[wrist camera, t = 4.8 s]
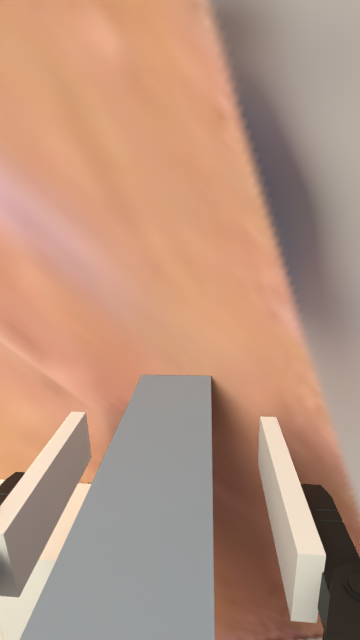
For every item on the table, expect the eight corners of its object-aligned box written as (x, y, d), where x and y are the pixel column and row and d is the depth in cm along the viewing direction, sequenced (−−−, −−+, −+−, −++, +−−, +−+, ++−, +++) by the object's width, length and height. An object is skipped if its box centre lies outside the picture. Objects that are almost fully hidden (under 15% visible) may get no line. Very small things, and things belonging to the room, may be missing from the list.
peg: (146, 433, 19) (27, 819, 7) (141, 374, 18) (-11, 705, 5) (211, 435, 19) (215, 848, 6) (210, 375, 18) (215, 734, 5)
